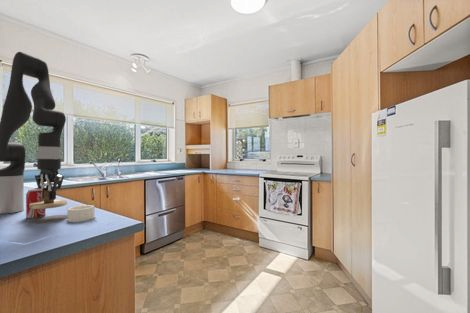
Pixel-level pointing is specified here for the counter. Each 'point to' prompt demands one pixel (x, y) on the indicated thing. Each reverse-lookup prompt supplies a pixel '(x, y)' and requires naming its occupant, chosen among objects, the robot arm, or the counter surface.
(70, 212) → the bowl
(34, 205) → the lid
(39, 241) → the counter surface
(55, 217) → the mat
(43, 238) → the counter surface
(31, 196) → the beverage can
